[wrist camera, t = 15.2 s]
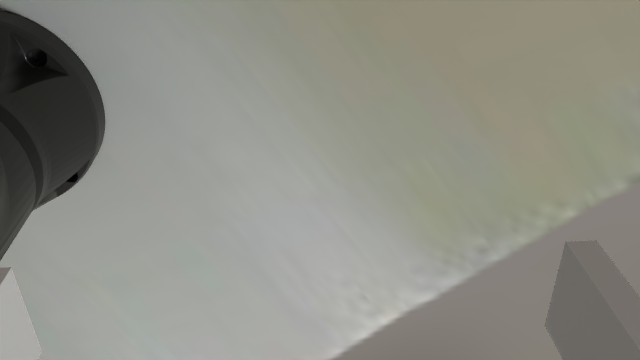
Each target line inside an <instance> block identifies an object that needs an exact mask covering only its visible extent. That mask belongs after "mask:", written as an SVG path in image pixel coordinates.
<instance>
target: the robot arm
mask: <svg viewBox="0 0 640 360" xmlns="http://www.w3.org/2000/svg"><path fill="white" fill-rule="evenodd" d="M104 131H105V112H104V106H103V102H102V98H101V95H100V92H99V90H98V87H97V85H96V83H95V81H94V79H93V77H92V75H91V74H90V72H89V70H88V69H87V67H86V66H85V65H84V63H83V62H82V61H81V60H80V58H79V57H78V56H77V55H76V54H75V53H74V52H73V51H72V50H71V49H70V48H69V47H68V46H67V45H66V44H65V43H64V42H63V41H61V40H60V39H59V38H58V37H56V36H55V35H54V34H52V33H51V32H49V31H48V30H46V29H45V28H43V27H41V26H39V25H38V24H36V23H34V22H32V21H30V20H27V19H25V18H23V17H20V16H17V15H14V14H11V13H8V12H4V11H0V260H1V259H2V257H3V256H4V254H5V253H6V251H7V250H8V248H9V246H10V245H11V243H12V242H13V240H14V239H15V237H16V235H17V234H18V232H19V231H20V229H21V228H22V226H23V225H24V223H25V221H26V220H27V218H28V217H29V215H30V214H31V212H32V211H33V210H35V209H37V208H38V207H40V206H42V205H44V204H45V203H47V202H49V201H51V200H53V199H54V198H56V197H58V196H60V195H62V194H63V193H65V192H66V191H68V190H69V189H71V188H72V187H73V186H74V185H75V184H76V183H77V182H78V181H79V180H80V179H81V178H82V177H83V176H84V175H85V174H86V172H87V171H88V169H89V168H90V166H91V164H92V162H93V161H94V159H95V157H96V156H97V154H98V152H99V150H100V147H101V144H102V141H103V137H104ZM545 327H546V329H547V331H548V332H549V334H550V336H551V338H552V340H553V342H554V344H555V346H556V347H557V349H558V351H559V353H560V355H561V357H562V359H563V360H640V297H639V295H638V294H637V293H636V291H635V290H634V289H633V288H632V286H631V285H630V284H629V282H628V281H627V280H626V278H625V277H624V276H623V274H622V273H621V272H620V270H619V269H618V268H617V267H616V265H615V264H614V263H613V261H612V260H611V259H610V257H609V256H608V255H607V253H606V252H605V251H604V250H603V248H602V247H601V246H600V244H599V243H598V242H597V241H596V240H595V241H574V242H573V241H572V242H565V246H564V250H563V254H562V258H561V262H560V266H559V270H558V274H557V278H556V282H555V286H554V290H553V294H552V298H551V302H550V306H549V310H548V314H547V318H546V322H545ZM41 352H42V350H41V347H40V344H39V342H38V339H37V336H36V334H35V331H34V328H33V325H32V323H31V320H30V317H29V314H28V312H27V309H26V306H25V303H24V301H23V298H22V295H21V293H20V290H19V287H18V284H17V282H16V279H15V276H14V273H13V271H12V268H11V267H10V268H0V360H38V359H39V357H40V355H41Z"/></svg>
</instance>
